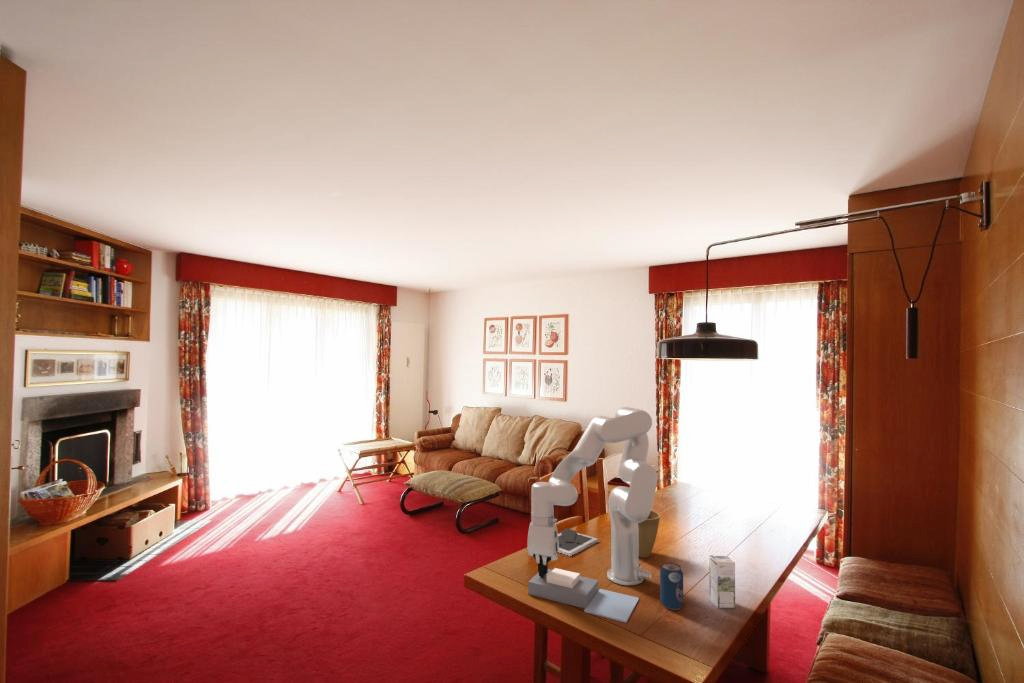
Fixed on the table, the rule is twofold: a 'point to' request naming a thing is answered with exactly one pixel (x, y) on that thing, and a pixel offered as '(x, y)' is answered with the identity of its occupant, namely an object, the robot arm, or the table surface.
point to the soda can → (671, 586)
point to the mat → (612, 605)
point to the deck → (564, 590)
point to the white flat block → (563, 578)
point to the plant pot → (648, 534)
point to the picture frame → (574, 542)
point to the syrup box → (722, 581)
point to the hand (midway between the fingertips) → (542, 574)
